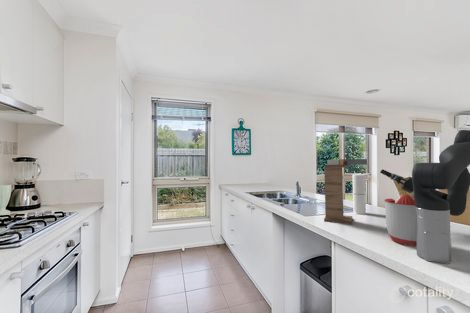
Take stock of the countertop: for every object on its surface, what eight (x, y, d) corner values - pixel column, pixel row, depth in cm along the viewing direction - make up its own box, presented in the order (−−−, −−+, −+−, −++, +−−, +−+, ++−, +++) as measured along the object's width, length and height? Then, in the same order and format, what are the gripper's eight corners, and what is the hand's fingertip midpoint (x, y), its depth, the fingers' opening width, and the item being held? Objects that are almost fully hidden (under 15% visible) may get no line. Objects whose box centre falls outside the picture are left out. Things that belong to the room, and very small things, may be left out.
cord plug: (327, 164, 132) (327, 159, 133) (328, 164, 137) (328, 159, 137) (367, 164, 123) (366, 158, 123) (366, 164, 127) (366, 158, 128)
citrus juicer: (418, 236, 102) (417, 191, 103) (441, 250, 86) (439, 197, 86) (379, 233, 107) (378, 190, 107) (393, 246, 90) (391, 196, 91)
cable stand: (351, 224, 123) (350, 161, 123) (324, 221, 129) (322, 161, 130) (352, 218, 134) (350, 161, 135) (326, 216, 141) (325, 161, 141)
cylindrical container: (353, 213, 147) (352, 174, 148) (353, 211, 153) (352, 174, 154) (366, 214, 144) (365, 175, 144) (365, 212, 150) (364, 174, 151)
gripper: (416, 180, 121) (384, 164, 127) (423, 182, 108) (387, 165, 115) (407, 191, 122) (376, 176, 129) (413, 195, 110) (378, 177, 117)
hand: (381, 171), depth 122 cm, fingers open, 8 cm apart
